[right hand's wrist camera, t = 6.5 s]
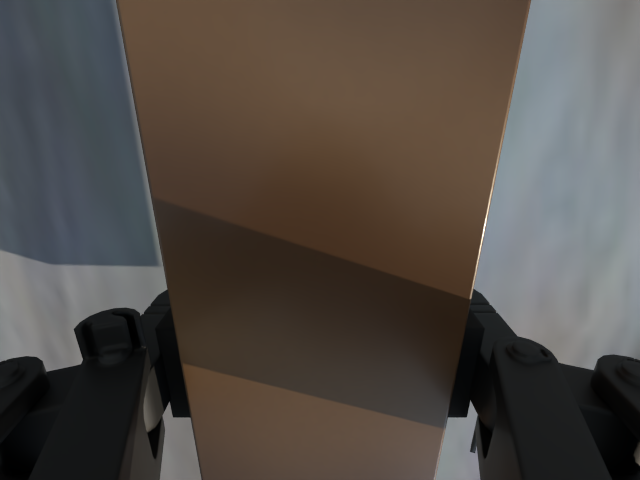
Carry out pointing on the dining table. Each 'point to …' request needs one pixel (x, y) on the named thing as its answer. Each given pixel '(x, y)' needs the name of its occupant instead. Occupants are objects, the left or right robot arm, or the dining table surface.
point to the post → (321, 217)
